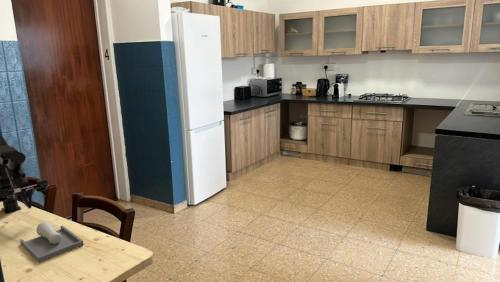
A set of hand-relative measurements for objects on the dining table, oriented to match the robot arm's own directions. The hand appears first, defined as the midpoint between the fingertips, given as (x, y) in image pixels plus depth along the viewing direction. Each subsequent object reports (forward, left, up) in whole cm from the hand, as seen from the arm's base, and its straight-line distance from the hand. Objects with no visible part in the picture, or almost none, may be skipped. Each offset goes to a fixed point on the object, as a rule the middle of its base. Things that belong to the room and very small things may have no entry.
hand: (30, 208), depth 149 cm
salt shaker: (+8, +1, -6) cm, 10 cm away
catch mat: (+19, 0, -9) cm, 21 cm away
